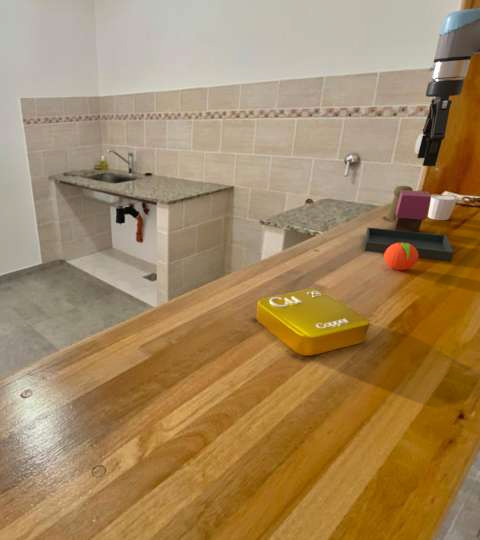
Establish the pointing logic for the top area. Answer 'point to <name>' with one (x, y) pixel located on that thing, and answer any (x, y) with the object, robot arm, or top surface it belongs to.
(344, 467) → the top surface
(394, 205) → the cork
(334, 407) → the top surface
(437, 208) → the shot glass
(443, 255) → the tray
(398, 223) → the walnut block
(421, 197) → the mulberry cube
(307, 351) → the element tile
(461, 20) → the robot arm
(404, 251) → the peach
